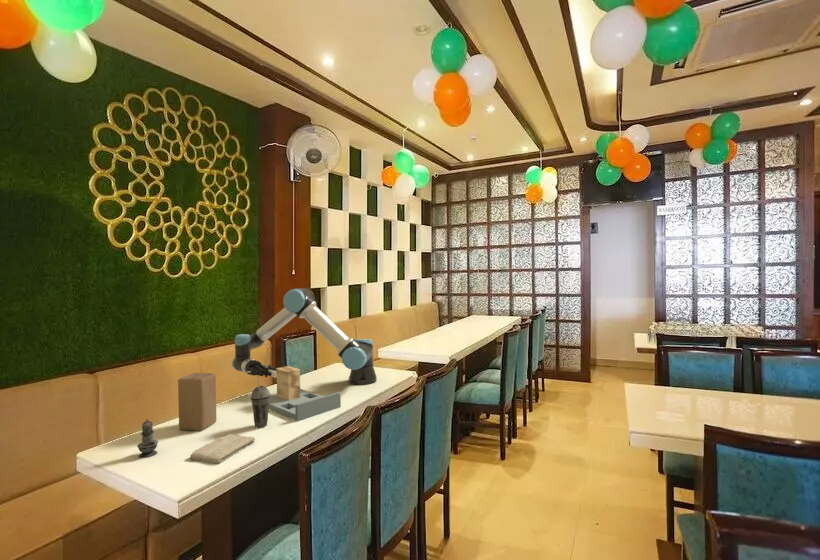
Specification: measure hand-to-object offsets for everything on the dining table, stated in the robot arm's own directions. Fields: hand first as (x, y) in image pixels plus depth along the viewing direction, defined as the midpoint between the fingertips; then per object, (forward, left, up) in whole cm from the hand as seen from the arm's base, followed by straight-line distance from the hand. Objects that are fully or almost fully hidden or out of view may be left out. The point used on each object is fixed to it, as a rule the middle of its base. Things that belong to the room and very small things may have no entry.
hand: (276, 374), depth 193 cm
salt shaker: (+60, +21, -11) cm, 64 cm away
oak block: (0, +10, -9) cm, 13 cm away
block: (+39, +8, -11) cm, 41 cm away
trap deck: (0, +18, -11) cm, 21 cm away
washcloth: (+42, +38, -12) cm, 58 cm away
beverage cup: (+23, +27, -11) cm, 37 cm away
